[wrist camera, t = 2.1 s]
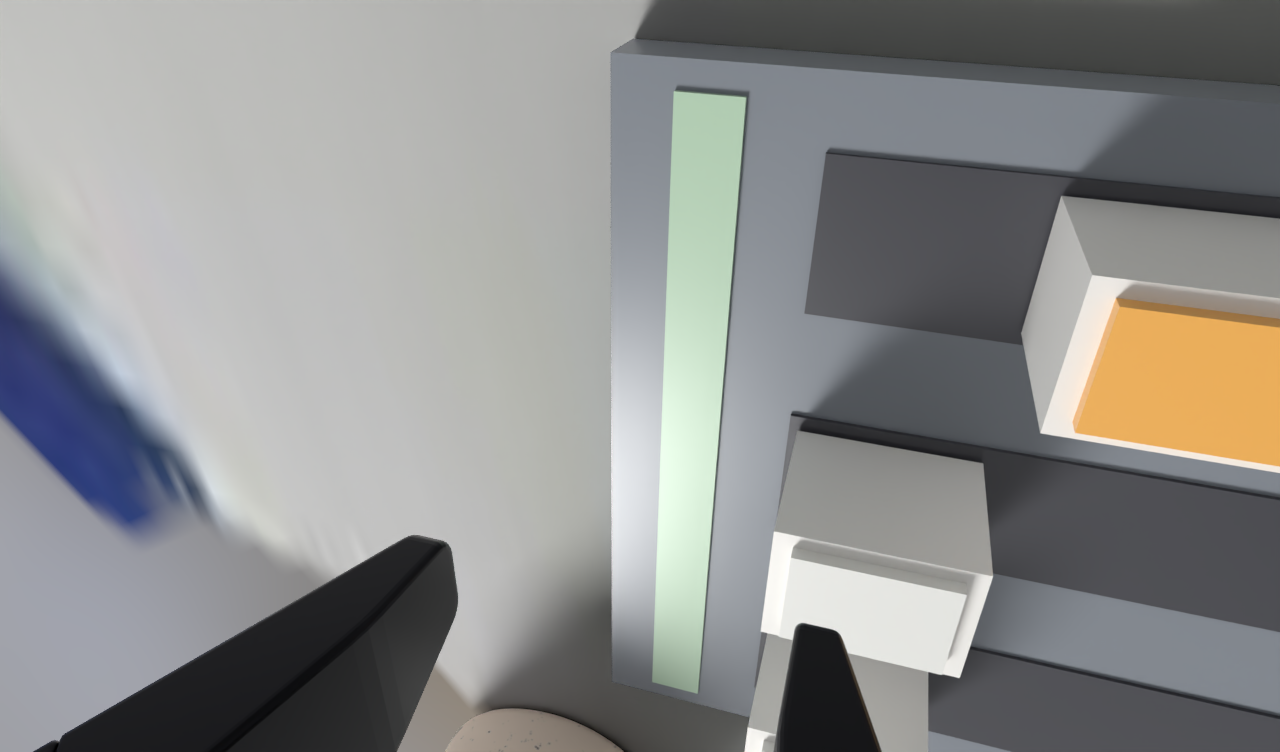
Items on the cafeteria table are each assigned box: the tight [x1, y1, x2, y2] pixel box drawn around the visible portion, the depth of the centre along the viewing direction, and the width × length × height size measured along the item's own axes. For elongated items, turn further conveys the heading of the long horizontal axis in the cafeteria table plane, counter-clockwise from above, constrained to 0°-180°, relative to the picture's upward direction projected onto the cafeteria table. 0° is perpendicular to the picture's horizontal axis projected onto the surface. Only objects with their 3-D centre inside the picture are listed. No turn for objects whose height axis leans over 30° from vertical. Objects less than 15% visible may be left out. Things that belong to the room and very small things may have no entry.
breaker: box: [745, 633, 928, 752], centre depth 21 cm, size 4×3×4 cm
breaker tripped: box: [1021, 196, 1280, 473], centre depth 14 cm, size 4×3×4 cm
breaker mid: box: [761, 431, 993, 678], centre depth 18 cm, size 4×3×4 cm
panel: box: [611, 39, 1280, 752], centre depth 19 cm, size 21×18×2 cm
